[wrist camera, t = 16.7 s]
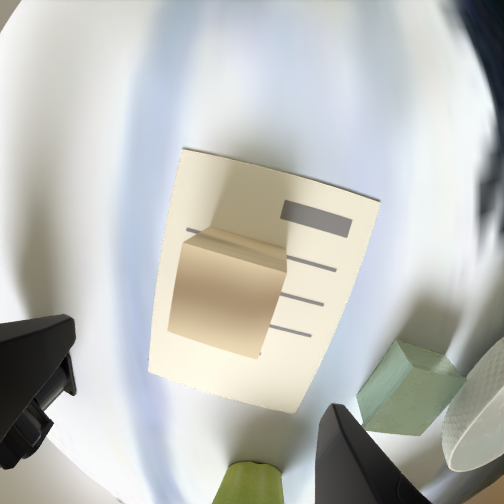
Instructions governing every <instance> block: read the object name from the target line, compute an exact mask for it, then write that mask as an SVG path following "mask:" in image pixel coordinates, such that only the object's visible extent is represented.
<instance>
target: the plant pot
mask: <svg viewBox="0 0 504 504" xmlns="http://www.w3.org/2000/svg"><path fill="white" fill-rule="evenodd" d="M212 504H284V497H283V488H282V478H281V473H280V471H279V470H278V469H276V468H275V467H273V466H271V465H268V464H256V463H253V462H250V461H247V462H239V463H235V464H232V465H231V466H229V468H228V469H227V471H226V473H225V476H224V478H223V481H222V483H221V485H220V487H219V490H218V492H217V494H216V496H215V498H214V500H213V502H212Z"/></svg>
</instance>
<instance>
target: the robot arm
mask: <svg viewBox="0 0 504 504" xmlns="http://www.w3.org/2000/svg"><path fill="white" fill-rule="evenodd" d="M75 340H76V333H75V321H74V319H73V318H72V317H70V316H68V315H66V314H61V315H55V316H48V317H42V318H35V319H29V320H22V321H15V322H8V323H1V324H0V467H2V468H3V469H5V470H7V469H11V468H14V467H15V466H16V464H17V463H18V462H19V460H20V459H21V458H22V459H26V458H28V457H30V456H31V455H32V454H34V453H35V452H36V451H37V450H38V448H39V447H40V445H41V444H42V442H43V440H44V439H45V437H46V435H47V434H48V432H49V431H50V429H51V427H52V426H53V424H54V422H53V421H52V420H51V419H49V418H48V416H47V415H46V414H45V413H44V411H45V410H46V409H47V408H48V407H49V405H50V404H51V403H52V402H53V401H54V400H55V399H56V398H57V397H58V396H59V395H60V394H61V393H62V392H63V391H65V392H67V393H69V394H70V395H72V396H75V395H76V389H75V384H74V379H73V374H72V368H71V362H70V357H69V355H68V354H67V353H68V351H69V350H70V348H71V347H72V346H73V344H74V342H75ZM315 504H432V503H431V502H430V501H429V500H428V499H427V498H426V497H424V496H423V495H422V494H421V493H420V492H419V491H418V490H417V489H416V488H415V487H414V486H413V485H412V484H411V483H410V482H409V480H408V479H407V478H406V477H405V476H404V475H403V474H401V472H400V470H399V469H398V468H397V467H396V466H395V465H394V464H393V462H392V461H391V460H390V459H389V458H388V457H387V455H386V454H385V453H384V452H383V451H382V450H381V448H380V447H379V446H378V445H377V444H376V443H375V441H374V440H373V439H372V438H371V437H370V436H369V434H368V433H367V432H366V431H365V430H364V429H363V427H362V426H361V425H360V424H359V423H358V421H357V420H356V419H355V418H354V417H353V415H352V414H351V413H350V412H349V411H348V409H347V408H346V407H345V406H344V405H342V404H336V403H332V404H330V405H329V407H328V409H327V410H326V412H325V413H324V415H323V417H322V418H321V420H320V423H319V431H318V441H317V451H316V460H315Z"/></svg>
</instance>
